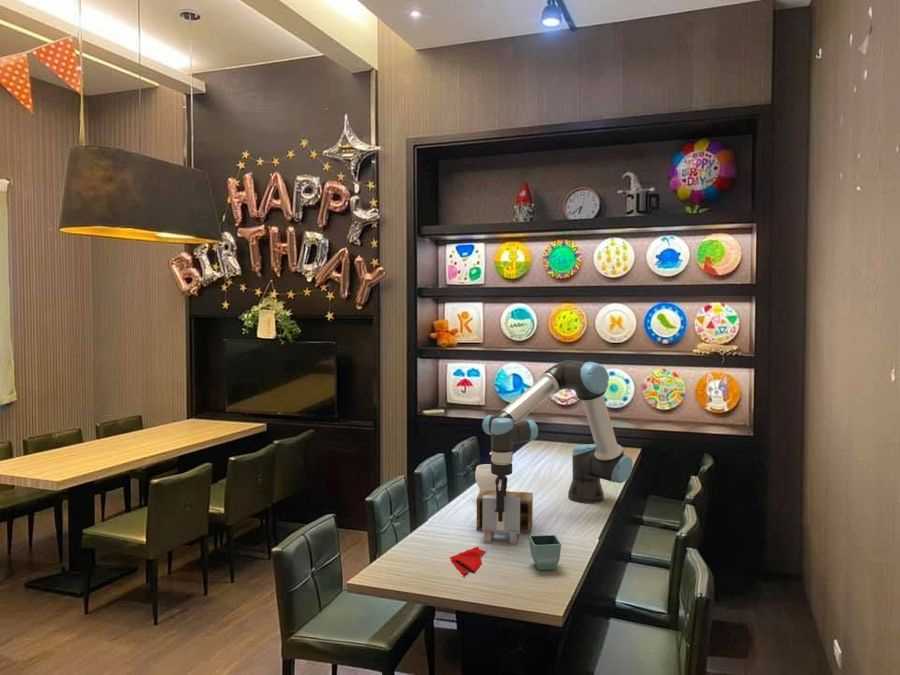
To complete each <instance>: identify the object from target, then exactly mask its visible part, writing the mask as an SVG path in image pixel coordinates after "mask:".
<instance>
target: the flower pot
mask: <svg viewBox="0 0 900 675" xmlns="http://www.w3.org/2000/svg"><path fill="white" fill-rule="evenodd" d="M528 542H529V549H530V554H531V557H532V560H533V563H534V564H535V567H536V568H537V570H538V571H551V570H552V571H553V570H555V569H556V568H557V566H558V564H559V562H560V558H561V552H562V551H561V550H562V543H561V541H560V540H559V539H558V538H557V535H555V534H543V535H542V534H541V535H529V536H528Z"/></svg>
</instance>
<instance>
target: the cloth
mask: <svg viewBox="0 0 900 675" xmlns="http://www.w3.org/2000/svg"><path fill="white" fill-rule="evenodd" d="M479 547H480V546H474V547H473V548H471V549H466V550H465V551H462V552H458V554H455V555H452V556H450V557H449V559H450V563H451V564H452V565H453V566H454V568H455V569H456V570H457V571H458V572H459V574H461V575H462V576H463V578H464V579H466V577H465V575H466V574H469V573H471V571H472V572H473V574H476V573H477V571H478V570H479V569H480V568H481V566H483V561H482V556H483V555H484V554H485V553H486V550H483V549H481V548H480V549H479Z"/></svg>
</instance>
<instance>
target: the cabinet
mask: <svg viewBox="0 0 900 675" xmlns="http://www.w3.org/2000/svg"><path fill="white" fill-rule="evenodd" d="M484 495H492V496H496V491H491V490H480V491H479V492H478V494H477V497H476V531H479V532H480V531H482V518H483V496H484ZM506 496H510V497H520V533H519V534H532V528H533V516H534V515H533V510H534V509H533V507H534V506H533V503H534V498H533V496H534V495H533V492H526V491H508V490H506ZM482 532H483V531H482Z"/></svg>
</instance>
